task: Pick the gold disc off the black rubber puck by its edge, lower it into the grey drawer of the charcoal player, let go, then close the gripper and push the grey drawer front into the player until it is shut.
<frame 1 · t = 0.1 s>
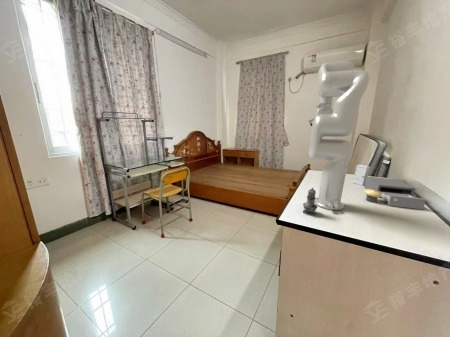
hand: (321, 133, 124), 31 cm above the table, fingers open, 9 cm apart
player: (385, 193, 105), on the table
grey drawer: (397, 196, 94), point 3 cm above the table, slide at 9.5 cm
puck: (371, 200, 95), on the table
grey stone pagoda: (309, 213, 83), on the table
skincare box: (359, 183, 121), on the table
disc: (372, 194, 95), point 3 cm above the table, touching puck
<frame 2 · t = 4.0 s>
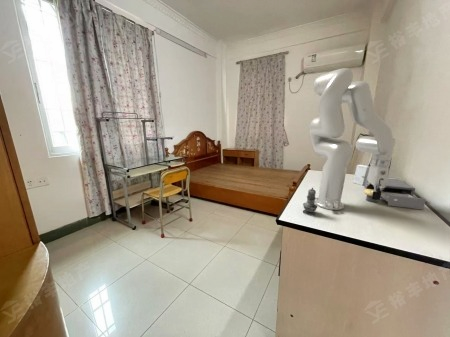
hand: (372, 196, 95), 3 cm above the table, fingers closed on disc, 7 cm apart
disc: (372, 194, 95), point 4 cm above the table, touching gripper, puck
everything else where it was.
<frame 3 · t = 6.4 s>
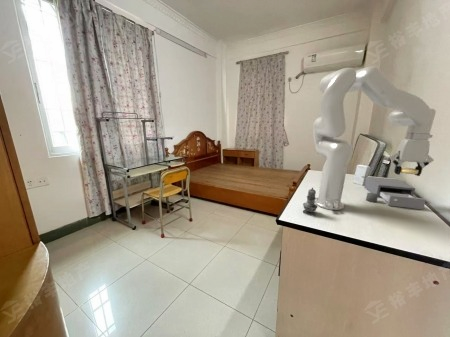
hand: (406, 174, 89), 15 cm above the table, fingers closed on disc, 6 cm apart
disc: (407, 172, 89), point 16 cm above the table, touching gripper
everything else where it was.
when the fingers open (3 cm above the table, at t = 9.0 s): disc drops 2 cm, resting on grey drawer.
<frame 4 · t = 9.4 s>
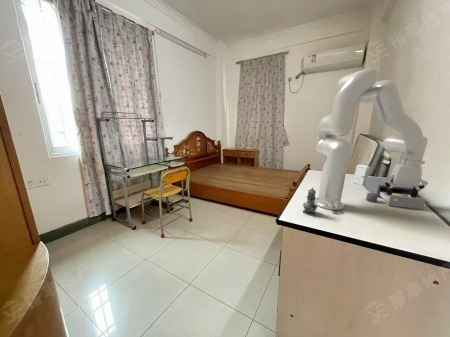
hand: (400, 196, 92), 4 cm above the table, fingers open, 9 cm apart
grey drawer: (397, 196, 94), point 3 cm above the table, slide at 9.5 cm, touching disc
disc: (399, 199, 92), point 2 cm above the table, touching grey drawer
everything else where it was.
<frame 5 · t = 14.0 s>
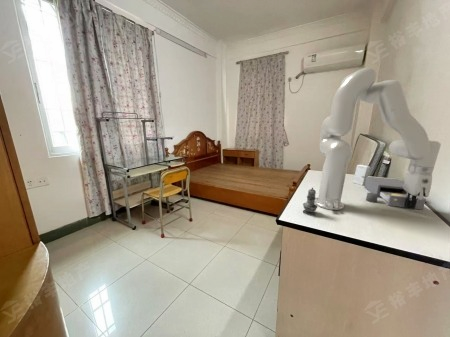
hand: (409, 207, 85), 1 cm above the table, fingers closed
grey drawer: (397, 196, 94), point 3 cm above the table, slide at 9.3 cm, touching disc, gripper
everything else where it was.
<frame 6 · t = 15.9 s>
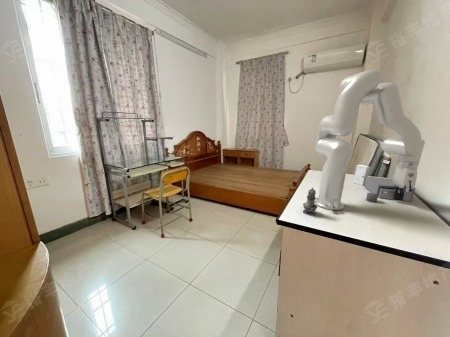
hand: (397, 199, 94), 1 cm above the table, fingers closed
grey drawer: (388, 189, 103), point 3 cm above the table, slide at -0.1 cm, touching disc, gripper, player
disc: (389, 192, 101), point 2 cm above the table, touching grey drawer
everything else where it was.
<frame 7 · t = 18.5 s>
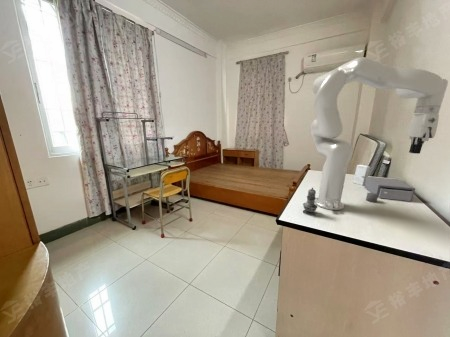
hand: (414, 153, 84), 26 cm above the table, fingers closed
grey drawer: (388, 189, 103), point 3 cm above the table, slide at 0.0 cm, touching disc
everything else where it was.
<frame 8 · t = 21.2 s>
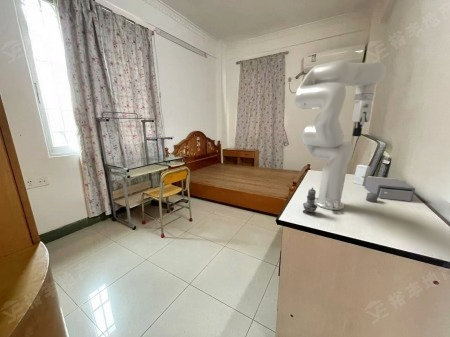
hand: (356, 136, 96), 32 cm above the table, fingers closed
nothing on the table moved.
at the end: grey drawer slide at 0.0 cm; disc inside the target area on the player (3.4 cm from its centre), point 2.1 cm above the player's base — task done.
